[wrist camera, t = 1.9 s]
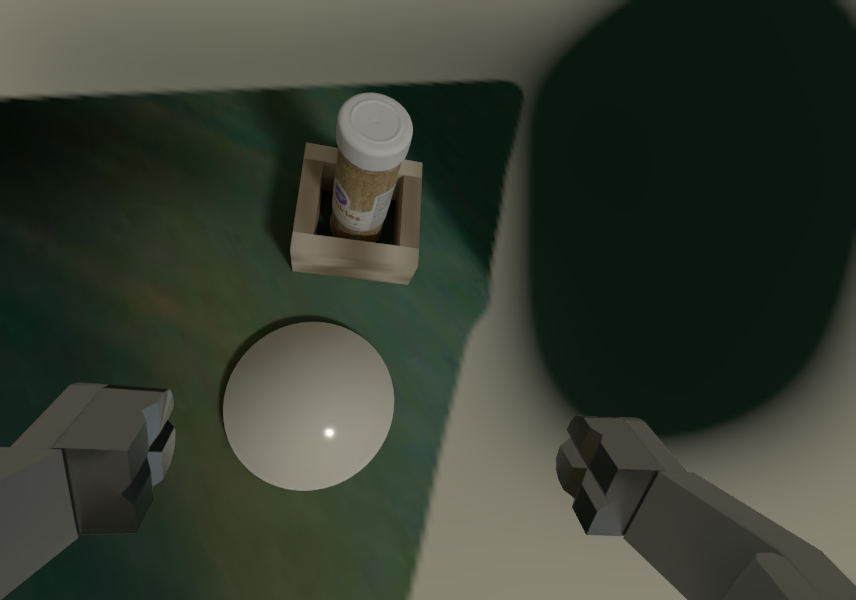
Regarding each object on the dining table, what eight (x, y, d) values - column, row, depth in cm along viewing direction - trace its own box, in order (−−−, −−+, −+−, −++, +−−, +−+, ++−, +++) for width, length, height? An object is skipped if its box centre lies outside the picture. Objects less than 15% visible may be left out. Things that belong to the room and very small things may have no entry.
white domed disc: (209, 488, 30) (207, 488, 29) (240, 317, 34) (239, 314, 33) (387, 491, 33) (389, 492, 32) (396, 331, 37) (398, 329, 36)
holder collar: (292, 271, 36) (290, 250, 33) (306, 171, 39) (306, 142, 36) (407, 284, 38) (417, 266, 35) (412, 188, 41) (422, 162, 38)
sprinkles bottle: (318, 225, 38) (320, 114, 26) (355, 194, 40) (374, 76, 28) (357, 261, 38) (378, 166, 26) (393, 229, 40) (429, 125, 27)
